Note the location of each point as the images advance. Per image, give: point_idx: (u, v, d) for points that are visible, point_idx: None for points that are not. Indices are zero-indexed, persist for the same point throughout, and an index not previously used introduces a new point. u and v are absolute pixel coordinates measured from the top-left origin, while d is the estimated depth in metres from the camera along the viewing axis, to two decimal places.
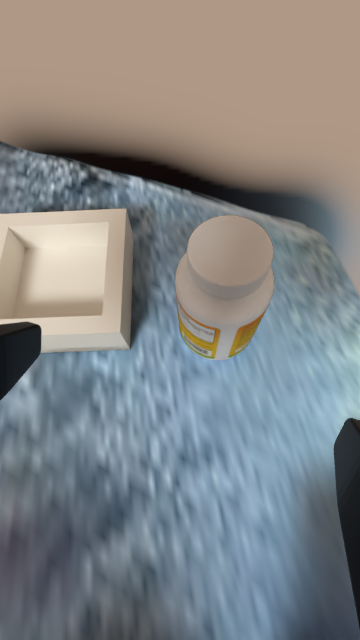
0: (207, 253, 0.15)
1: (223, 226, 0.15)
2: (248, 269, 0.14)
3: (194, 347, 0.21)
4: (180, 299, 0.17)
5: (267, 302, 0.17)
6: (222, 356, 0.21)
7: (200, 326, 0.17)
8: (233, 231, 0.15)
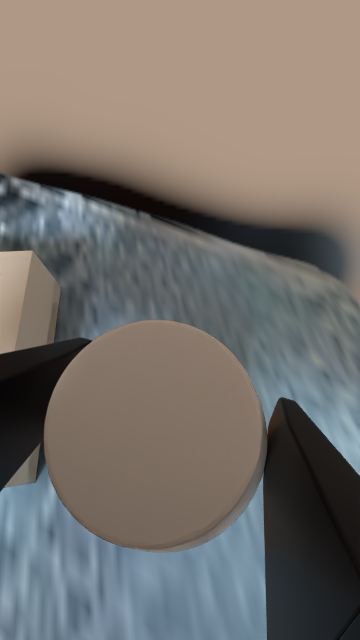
0: (91, 435, 0.06)
1: (141, 352, 0.06)
2: (193, 492, 0.05)
3: None
4: None
5: (251, 497, 0.08)
6: None
7: None
8: (164, 367, 0.06)
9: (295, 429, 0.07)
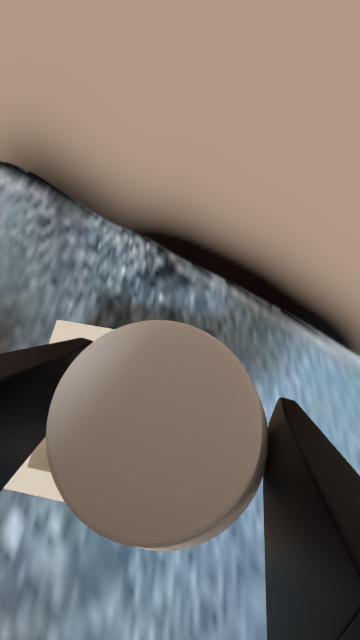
0: (93, 434, 0.06)
1: (142, 352, 0.06)
2: (194, 491, 0.05)
3: None
4: None
5: (252, 496, 0.08)
6: None
7: None
8: (165, 366, 0.06)
9: (295, 429, 0.07)
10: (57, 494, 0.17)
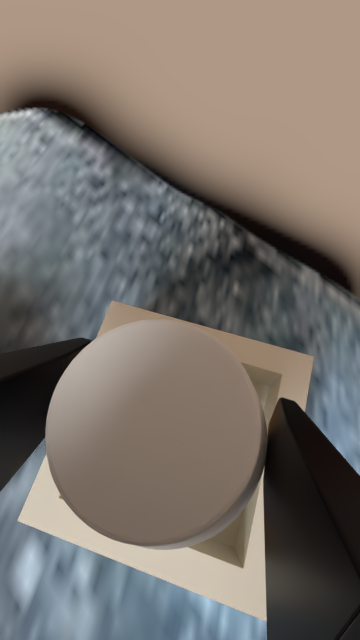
0: (92, 433, 0.06)
1: (141, 351, 0.06)
2: (193, 490, 0.05)
3: None
4: None
5: (251, 495, 0.08)
6: None
7: None
8: (164, 366, 0.06)
9: (295, 429, 0.07)
10: (97, 544, 0.12)
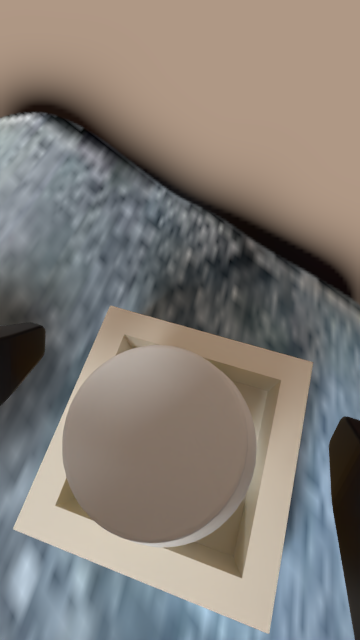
0: (103, 445, 0.07)
1: (145, 374, 0.07)
2: (188, 495, 0.06)
3: None
4: None
5: (241, 499, 0.09)
6: None
7: None
8: (166, 387, 0.07)
9: None
10: (94, 552, 0.12)
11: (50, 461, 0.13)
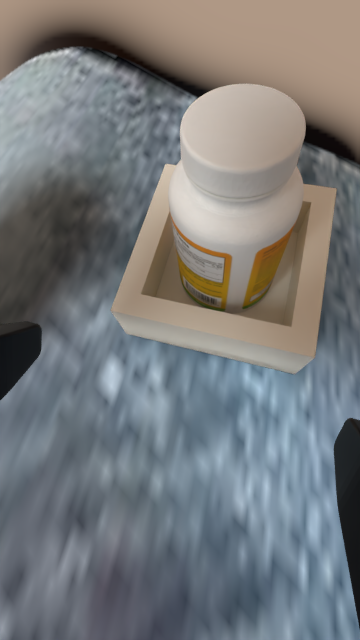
0: (209, 132, 0.10)
1: (231, 97, 0.11)
2: (270, 147, 0.10)
3: (199, 296, 0.17)
4: (176, 217, 0.13)
5: (295, 213, 0.12)
6: (235, 307, 0.17)
7: (204, 254, 0.13)
8: (246, 102, 0.11)
9: None
10: (175, 320, 0.15)
11: (133, 267, 0.17)
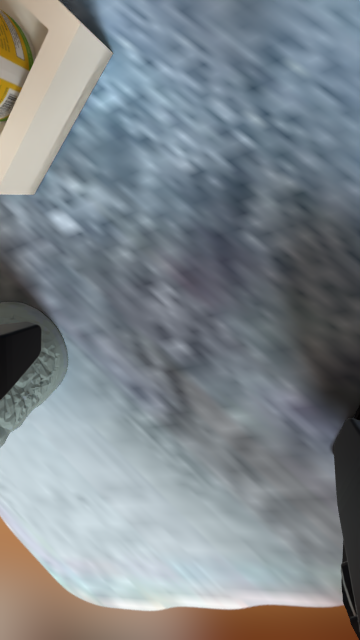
0: None
1: None
2: None
3: (7, 110, 0.18)
4: None
5: None
6: (26, 78, 0.18)
7: None
8: None
9: None
10: (15, 142, 0.18)
11: None
